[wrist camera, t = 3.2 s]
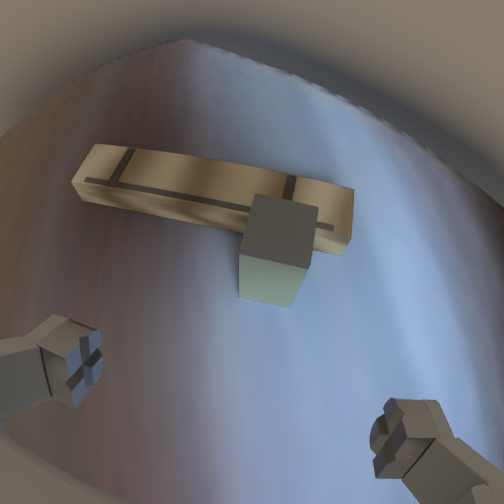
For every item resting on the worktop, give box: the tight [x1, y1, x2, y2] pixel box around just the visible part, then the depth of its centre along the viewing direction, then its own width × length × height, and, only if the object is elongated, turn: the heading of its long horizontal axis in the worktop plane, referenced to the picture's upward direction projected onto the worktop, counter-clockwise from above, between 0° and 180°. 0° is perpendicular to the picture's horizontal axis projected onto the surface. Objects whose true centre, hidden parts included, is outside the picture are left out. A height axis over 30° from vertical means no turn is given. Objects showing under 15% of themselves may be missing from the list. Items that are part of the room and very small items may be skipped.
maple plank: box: [71, 144, 354, 256], centre depth 28 cm, size 25×5×3 cm, turn 77°
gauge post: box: [239, 193, 319, 308], centre depth 22 cm, size 4×4×8 cm
